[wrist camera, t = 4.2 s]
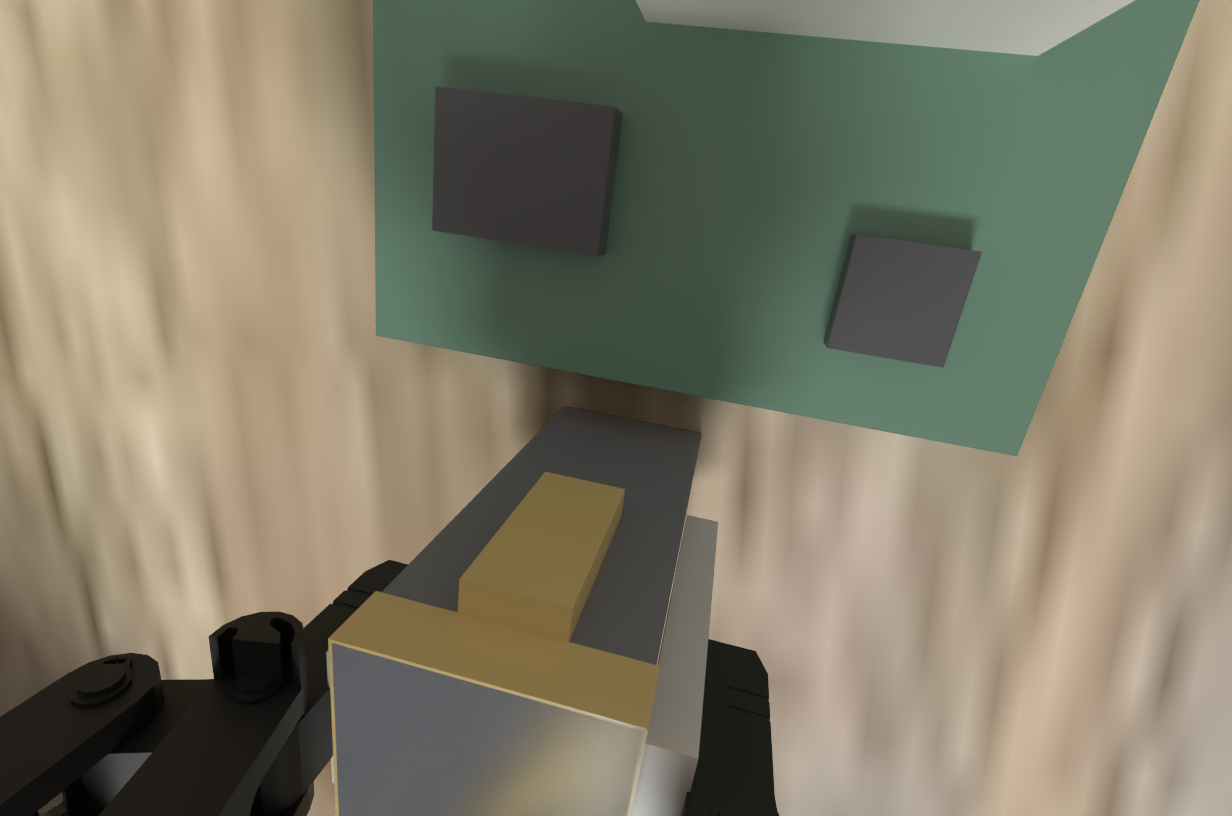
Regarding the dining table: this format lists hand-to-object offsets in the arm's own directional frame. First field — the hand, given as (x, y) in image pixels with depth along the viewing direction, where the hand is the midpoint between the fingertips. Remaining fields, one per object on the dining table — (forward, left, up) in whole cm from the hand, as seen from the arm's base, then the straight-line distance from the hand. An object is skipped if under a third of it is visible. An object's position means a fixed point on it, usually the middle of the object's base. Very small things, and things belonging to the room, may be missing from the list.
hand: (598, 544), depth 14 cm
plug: (0, 0, -3) cm, 3 cm away
